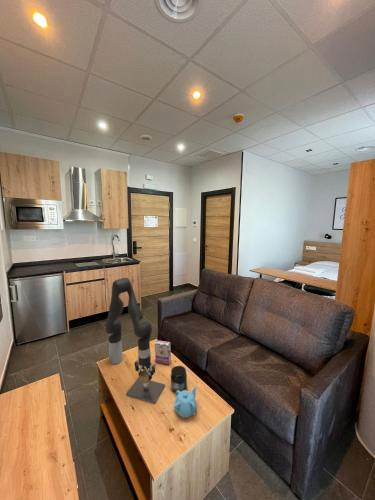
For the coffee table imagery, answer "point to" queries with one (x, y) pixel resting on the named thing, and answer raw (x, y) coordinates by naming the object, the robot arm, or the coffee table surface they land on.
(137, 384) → the grey metal plate
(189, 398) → the teapot
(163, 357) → the candy bar box
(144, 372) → the collar
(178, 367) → the supplement container
